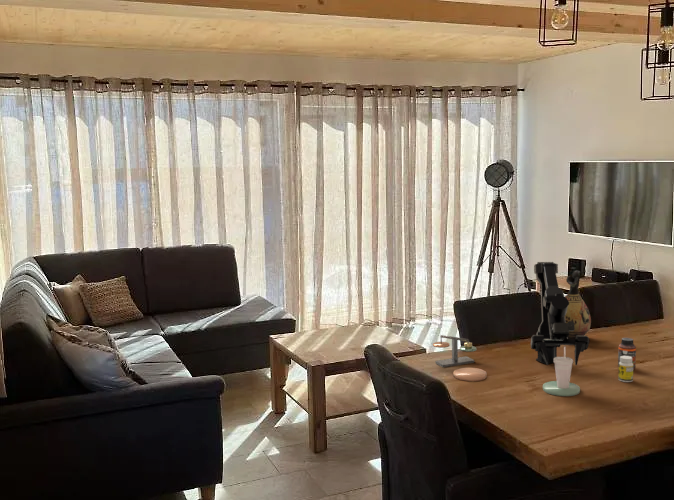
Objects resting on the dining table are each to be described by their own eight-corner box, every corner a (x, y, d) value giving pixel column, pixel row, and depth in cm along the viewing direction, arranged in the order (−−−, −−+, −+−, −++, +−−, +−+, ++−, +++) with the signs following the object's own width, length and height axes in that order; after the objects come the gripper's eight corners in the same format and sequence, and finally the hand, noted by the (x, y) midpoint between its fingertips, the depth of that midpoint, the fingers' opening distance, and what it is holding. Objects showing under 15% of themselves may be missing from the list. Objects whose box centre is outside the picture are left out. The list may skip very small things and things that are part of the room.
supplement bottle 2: (615, 378, 235) (616, 355, 234) (628, 377, 235) (629, 354, 234) (622, 382, 230) (623, 359, 229) (635, 382, 231) (636, 358, 230)
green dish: (563, 382, 233) (563, 379, 233) (587, 392, 222) (587, 389, 221) (535, 387, 229) (535, 384, 229) (558, 398, 218) (558, 394, 217)
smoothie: (577, 388, 223) (577, 348, 221) (561, 390, 221) (561, 350, 219) (565, 382, 229) (565, 343, 227) (549, 385, 227) (549, 345, 225)
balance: (470, 357, 265) (470, 328, 264) (479, 362, 259) (479, 332, 258) (430, 363, 259) (429, 334, 258) (438, 368, 253) (437, 337, 252)
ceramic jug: (586, 345, 277) (587, 275, 273) (549, 341, 285) (549, 273, 281) (594, 336, 291) (595, 269, 287) (558, 332, 299) (559, 267, 295)
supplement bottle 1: (627, 372, 242) (628, 342, 240) (614, 367, 247) (614, 338, 245) (638, 369, 244) (639, 339, 243) (625, 365, 250) (625, 336, 248)
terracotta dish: (475, 369, 251) (475, 366, 251) (493, 378, 240) (493, 375, 240) (447, 373, 247) (447, 370, 247) (464, 382, 236) (464, 379, 236)
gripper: (531, 312, 227) (535, 352, 218) (588, 312, 224) (595, 353, 215) (529, 328, 236) (532, 368, 227) (583, 329, 233) (589, 369, 223)
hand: (562, 364), depth 223 cm, fingers open, 9 cm apart
